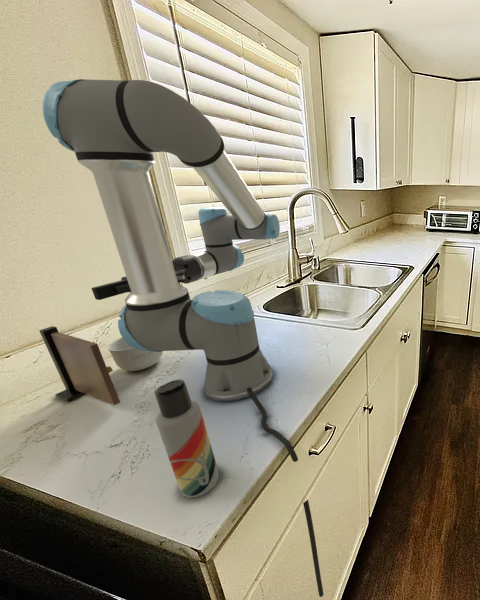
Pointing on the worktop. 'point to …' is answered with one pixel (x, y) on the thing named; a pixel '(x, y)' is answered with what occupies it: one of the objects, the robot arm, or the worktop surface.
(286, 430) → the worktop surface
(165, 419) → the lotion bottle
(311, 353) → the worktop surface
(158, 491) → the worktop surface
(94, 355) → the door
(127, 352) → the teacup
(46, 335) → the door post
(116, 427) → the worktop surface
